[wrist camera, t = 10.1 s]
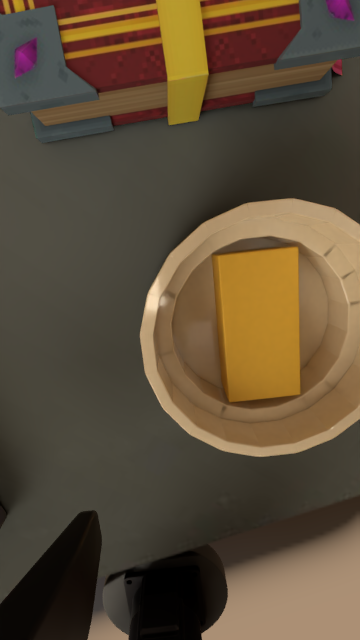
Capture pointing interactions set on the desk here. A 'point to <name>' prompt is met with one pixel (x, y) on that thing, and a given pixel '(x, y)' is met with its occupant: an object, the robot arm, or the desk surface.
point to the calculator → (2, 516)
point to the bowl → (315, 330)
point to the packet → (258, 322)
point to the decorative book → (165, 58)
